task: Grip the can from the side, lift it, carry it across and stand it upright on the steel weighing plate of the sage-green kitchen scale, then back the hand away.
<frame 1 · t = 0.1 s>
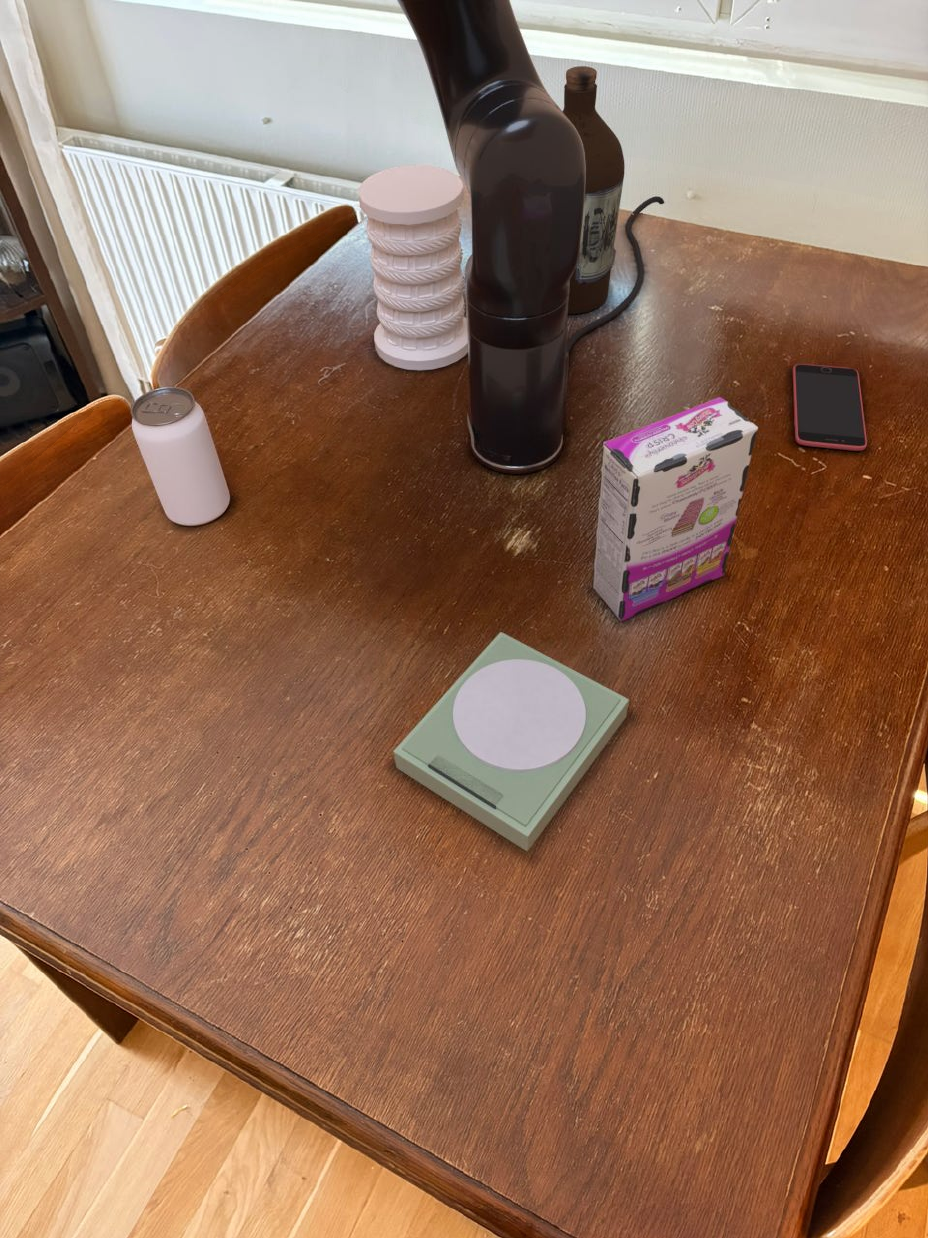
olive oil: (569, 296, 111), on the table
scale: (513, 742, 69), on the table
smartphone: (826, 409, 94), on the table
can: (199, 507, 89), on the table
candy bar box: (655, 583, 80), on the table
decorative container: (424, 343, 106), on the table
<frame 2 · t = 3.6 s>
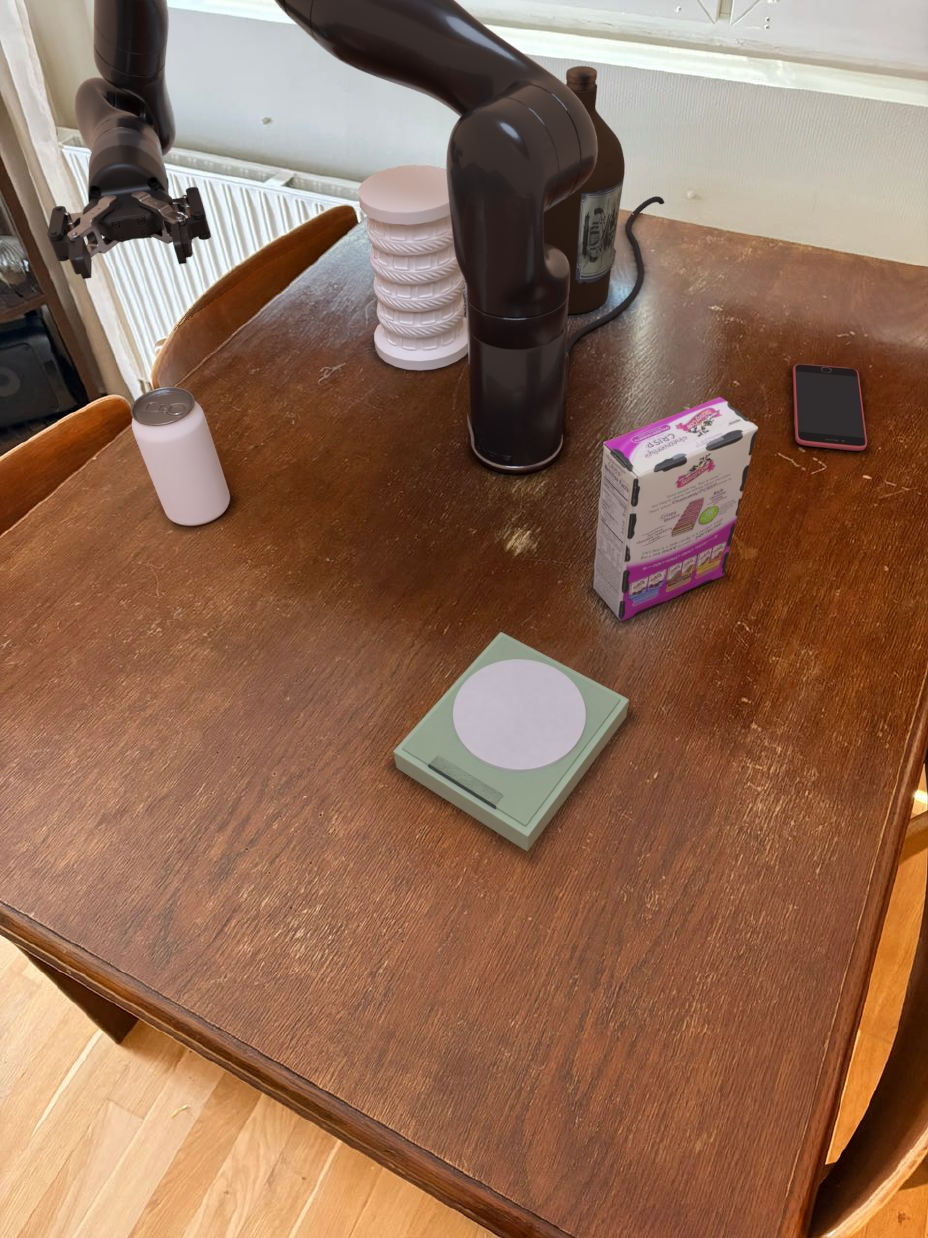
hand: (132, 261, 80), 20 cm above the table, tool horizontal, fingers open, 8 cm apart
nothing on the table moved.
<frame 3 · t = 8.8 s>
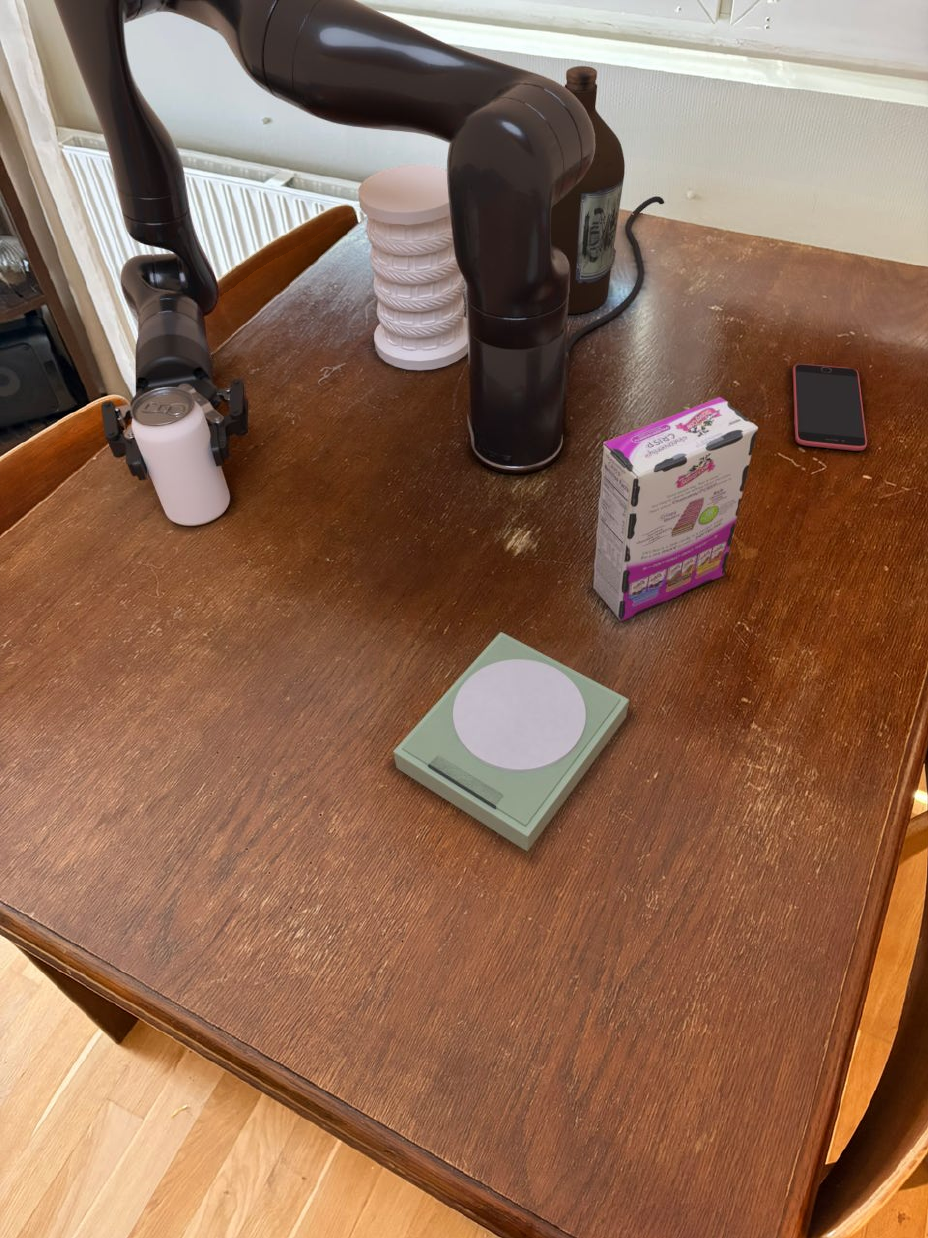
hand: (179, 465, 82), 7 cm above the table, tool horizontal, fingers closed on can, 6 cm apart
can: (199, 507, 89), on the table, touching gripper
everything else where it was.
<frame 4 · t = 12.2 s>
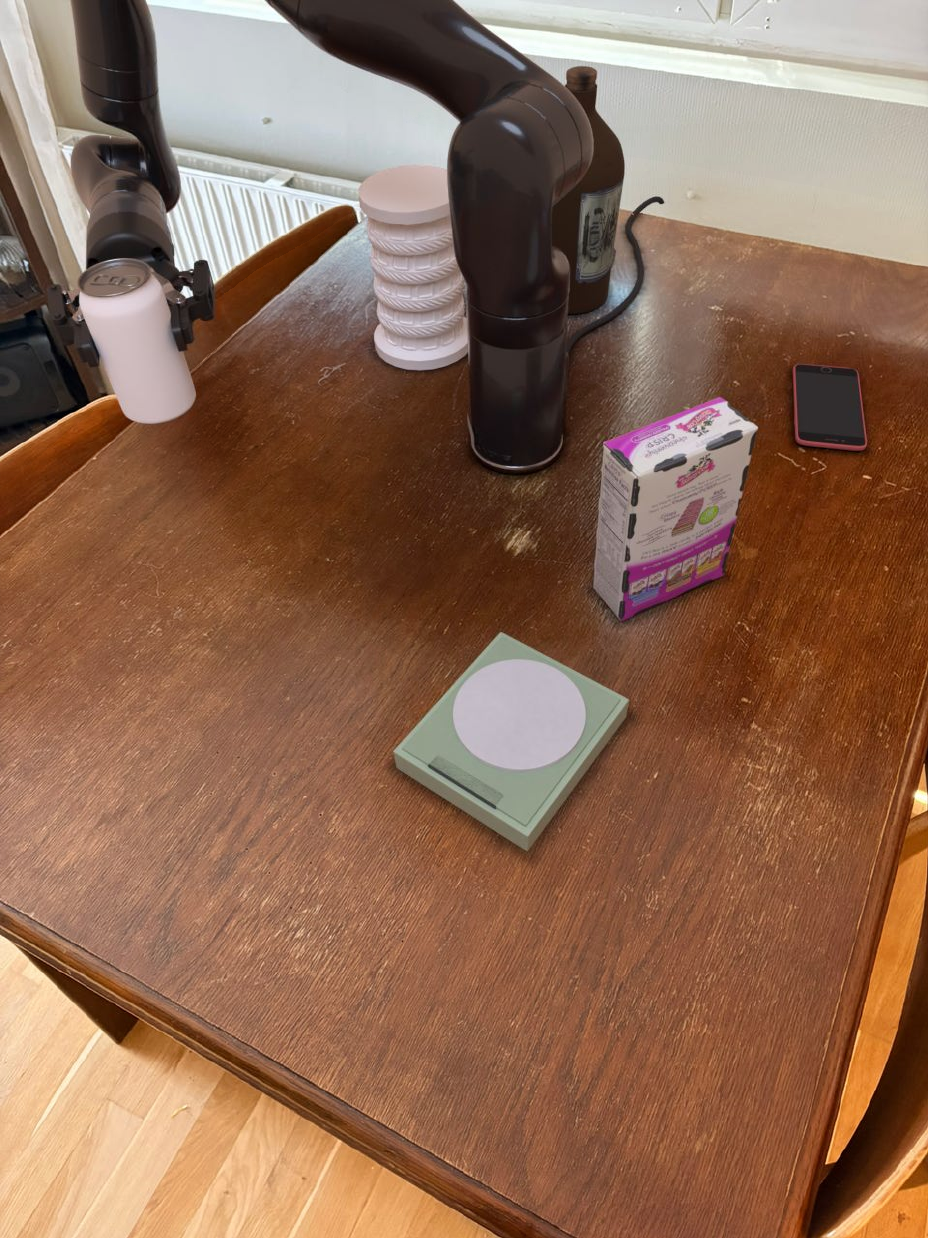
hand: (135, 348, 72), 20 cm above the table, tool horizontal, fingers closed on can, 6 cm apart
can: (161, 406, 79), point 12 cm above the table, touching gripper
everything else where it was.
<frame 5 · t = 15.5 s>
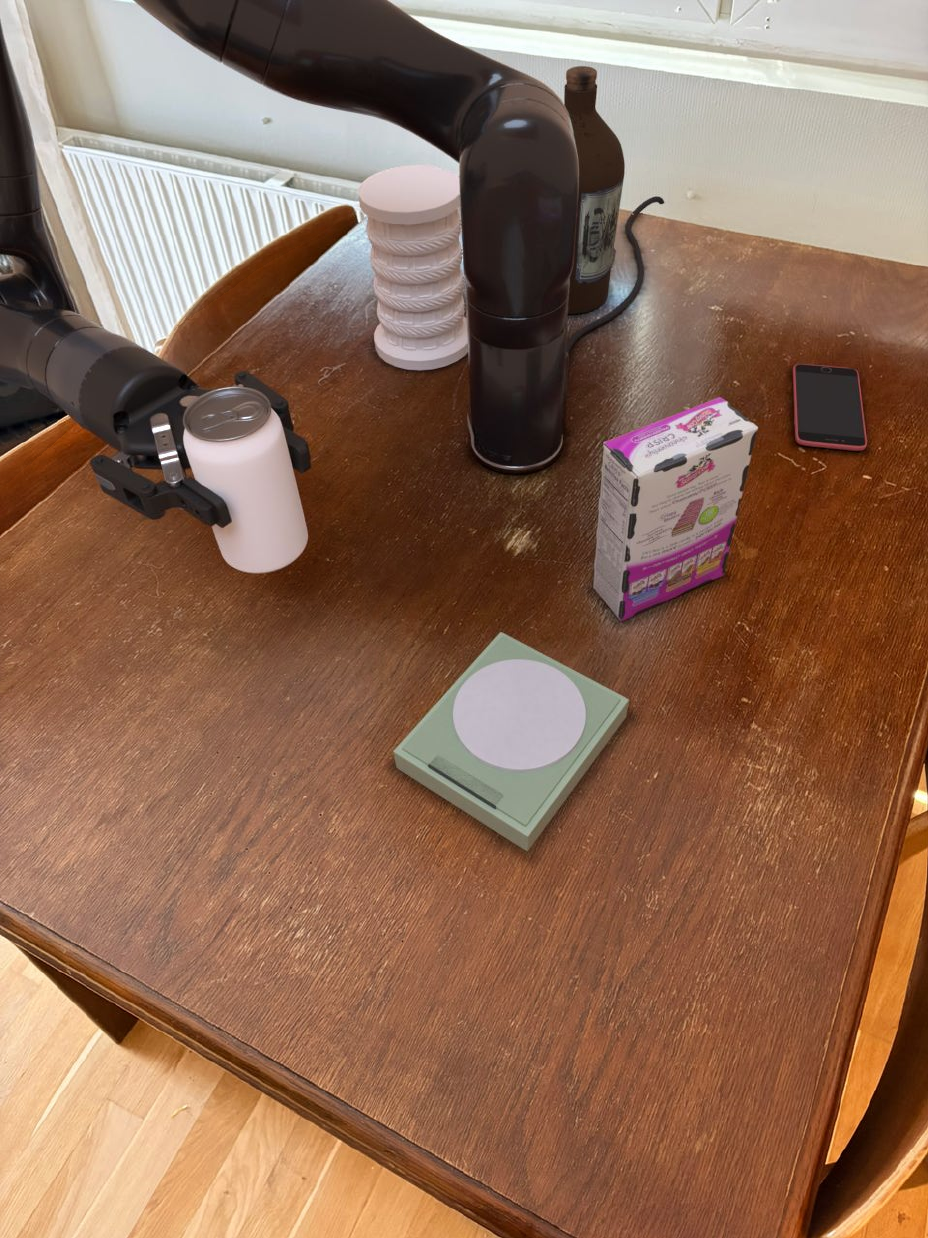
hand: (266, 486, 60), 20 cm above the table, tool horizontal, fingers closed on can, 6 cm apart
can: (266, 547, 66), point 12 cm above the table, touching gripper
everything else where it was.
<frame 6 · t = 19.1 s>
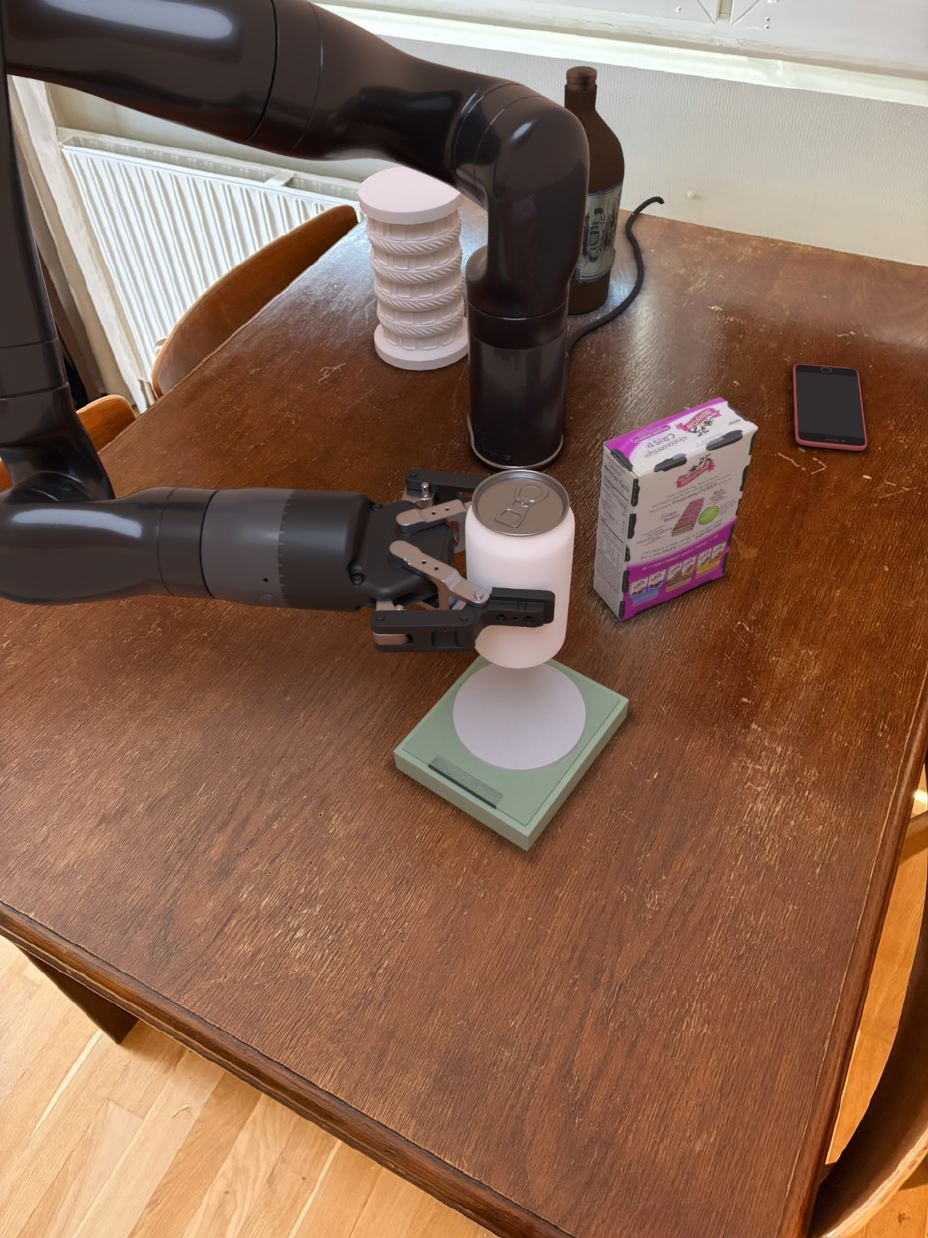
hand: (556, 564, 55), 19 cm above the table, tool horizontal, fingers closed on can, 6 cm apart
can: (517, 636, 60), point 12 cm above the table, touching gripper
everything else where it was.
when the fingers open (10 cm above the table, at t = 22.2 s): can stays where it is, resting on scale.
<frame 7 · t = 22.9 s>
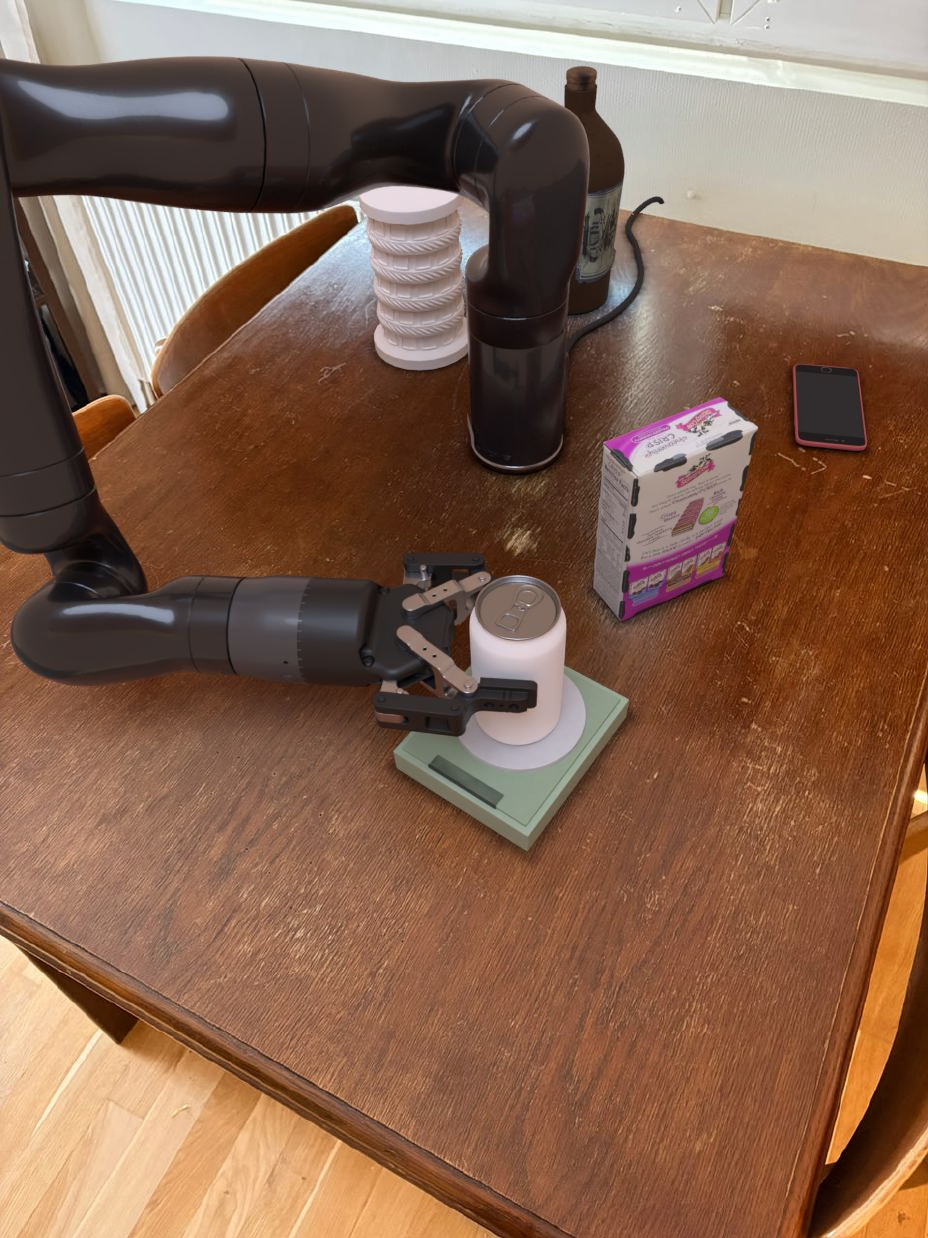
hand: (541, 643, 61), 11 cm above the table, tool horizontal, fingers open, 8 cm apart
can: (517, 713, 67), point 3 cm above the table, touching scale
everything else where it was.
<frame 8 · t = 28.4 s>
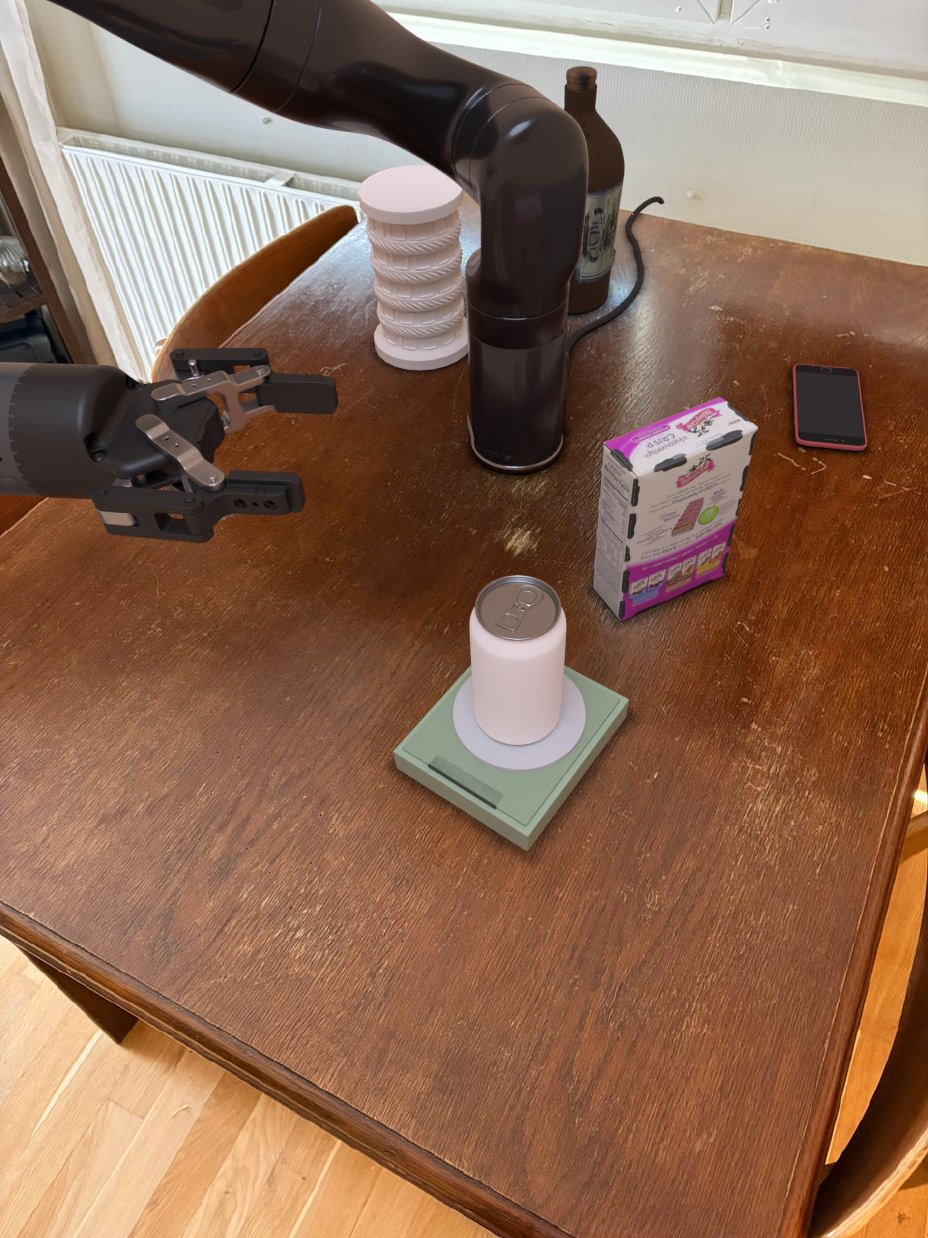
hand: (320, 441, 50), 28 cm above the table, tool horizontal, fingers open, 8 cm apart
nothing on the table moved.
at the end: can inside the target area on the scale (0.1 cm from its centre), point 3.0 cm above the scale's base; can tilted 0°; the gripper is holding nothing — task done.
